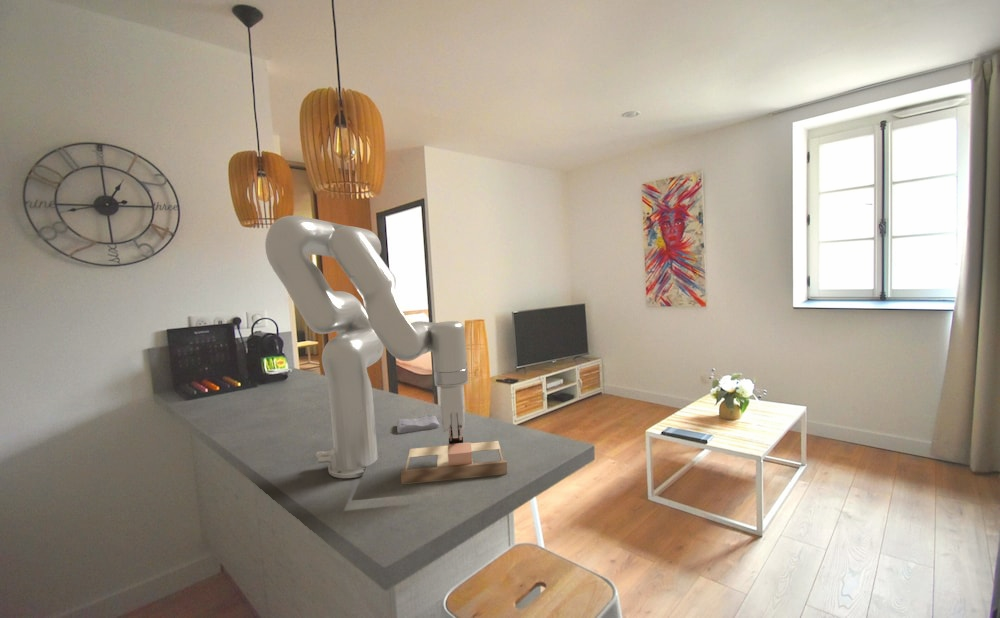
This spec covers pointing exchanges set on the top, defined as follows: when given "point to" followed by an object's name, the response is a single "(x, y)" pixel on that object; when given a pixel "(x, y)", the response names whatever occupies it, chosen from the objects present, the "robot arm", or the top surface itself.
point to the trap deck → (453, 471)
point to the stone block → (417, 424)
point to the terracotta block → (459, 453)
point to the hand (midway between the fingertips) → (457, 455)
